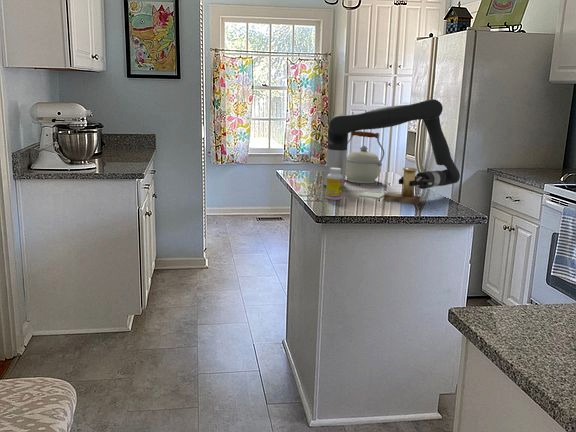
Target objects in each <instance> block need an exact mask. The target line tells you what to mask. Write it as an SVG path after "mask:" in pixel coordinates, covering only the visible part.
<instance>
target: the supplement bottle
mask: <svg viewBox="0 0 576 432" xmlns="http://www.w3.org/2000/svg"><path fill="white" fill-rule="evenodd" d="M340 172H341V169H340V168H330V174H328V175H327V184H326V185H325V186H326V187H325V188H326V189H325V199H328V200H331V201H339V200H341V199H342V194H343V193H342V192H343V191H342V190H343V187H342V182H343V176H342V175H341V174H340Z"/></svg>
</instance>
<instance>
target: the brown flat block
mask: <svg viewBox="0 0 576 432" xmlns="http://www.w3.org/2000/svg"><path fill="white" fill-rule="evenodd" d="M384 194H385V195H384V196H383V199H382V201H385V202H391V203H399V204H406V205H414V206H418V205H419V204H420V203H421V195H414V194H413V197H403V196H401V194H402V193H397V192H389V191H388V192H386V193H384Z"/></svg>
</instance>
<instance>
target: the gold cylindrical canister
mask: <svg viewBox="0 0 576 432" xmlns="http://www.w3.org/2000/svg"><path fill="white" fill-rule="evenodd" d="M402 170H403V176H402V177H403V184H401V185H402V187H401V193H400V194H401V196H403V197H413V195H414V191H415V186H409V183H410V181H414V180H415V176H416V174H417V173H416V172H417V171H418V169H417V168H415V167H403V168H402Z"/></svg>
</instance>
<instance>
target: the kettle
mask: <svg viewBox="0 0 576 432" xmlns="http://www.w3.org/2000/svg"><path fill="white" fill-rule="evenodd" d="M354 136H356V137H362V138H363V137H364V138H375V139H376V141H377V144H378V145H379V147H380V149H381V151H382V156H381V158H380V159H379V156H378V155H377V154H376V153H375V152H371V151H368V150H369V149H368V147H367V146H366V145H362V146H361V147H360V148H359V150H355V151H352V152H349V154H348V155H347V158H346V170H345V177H347V178H346V180H347V181H348V182H351V183H355V184H374V183H376V180H377V179H378V177H379V176H380V173H381V166H382V165H383V164H382V161H383V160H384V156H385V149H384V148H383V145H382V144H381V142H380V133H379V132H376V133H374V132H370V131H363V130H358V131H354V132H350V138H349V140H348V144H349V143H350V141H352V139H353V137H354Z"/></svg>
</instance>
